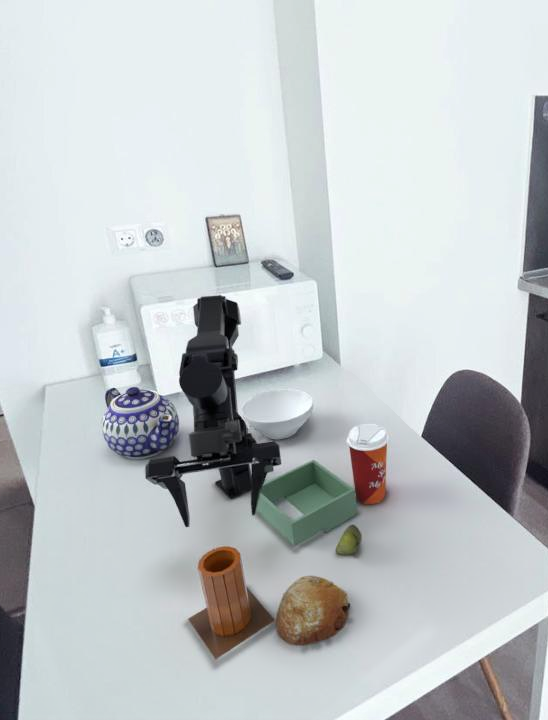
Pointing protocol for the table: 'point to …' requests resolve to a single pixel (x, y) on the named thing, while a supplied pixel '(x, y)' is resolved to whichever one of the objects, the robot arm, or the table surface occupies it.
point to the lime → (349, 541)
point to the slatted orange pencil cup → (224, 590)
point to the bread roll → (311, 611)
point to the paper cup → (368, 461)
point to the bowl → (278, 412)
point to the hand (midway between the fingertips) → (220, 520)
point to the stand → (225, 643)
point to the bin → (307, 501)
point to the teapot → (139, 422)
